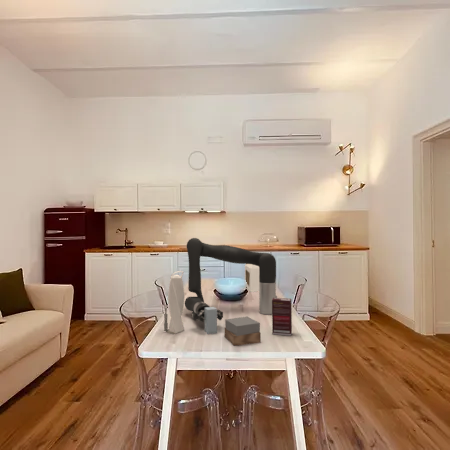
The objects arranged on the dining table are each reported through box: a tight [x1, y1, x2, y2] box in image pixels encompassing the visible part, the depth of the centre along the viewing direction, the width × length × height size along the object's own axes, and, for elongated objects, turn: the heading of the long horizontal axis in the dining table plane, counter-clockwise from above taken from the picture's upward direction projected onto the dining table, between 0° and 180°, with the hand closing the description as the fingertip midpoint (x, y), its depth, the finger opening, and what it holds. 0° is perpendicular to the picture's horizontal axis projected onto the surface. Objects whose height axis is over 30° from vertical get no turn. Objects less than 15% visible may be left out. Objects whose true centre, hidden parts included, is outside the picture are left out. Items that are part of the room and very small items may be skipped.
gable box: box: [244, 264, 259, 293], centre depth 258 cm, size 22×13×28 cm, turn 8°
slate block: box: [204, 306, 218, 335], centre depth 157 cm, size 5×5×11 cm
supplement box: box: [271, 297, 293, 337], centre depth 154 cm, size 9×5×16 cm, turn 74°
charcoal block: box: [224, 316, 261, 336], centre depth 146 cm, size 11×11×4 cm
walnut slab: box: [224, 327, 261, 347], centre depth 147 cm, size 12×12×4 cm
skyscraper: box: [163, 270, 185, 335], centre depth 158 cm, size 8×8×28 cm
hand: (211, 318), depth 155 cm, fingers open, 8 cm apart
